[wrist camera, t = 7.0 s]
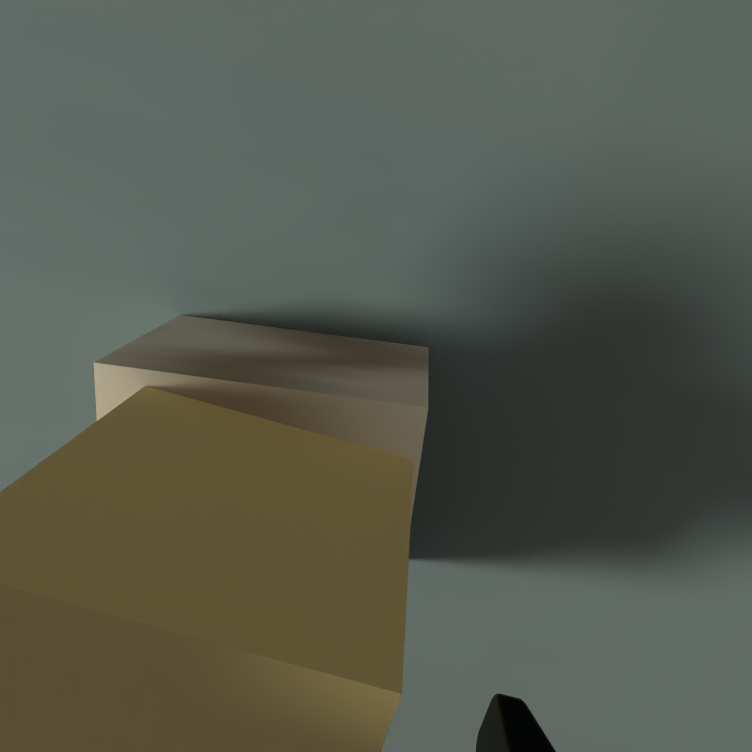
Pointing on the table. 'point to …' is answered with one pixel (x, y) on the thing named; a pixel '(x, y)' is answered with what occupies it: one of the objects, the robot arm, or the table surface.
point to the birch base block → (281, 379)
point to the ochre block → (203, 587)
